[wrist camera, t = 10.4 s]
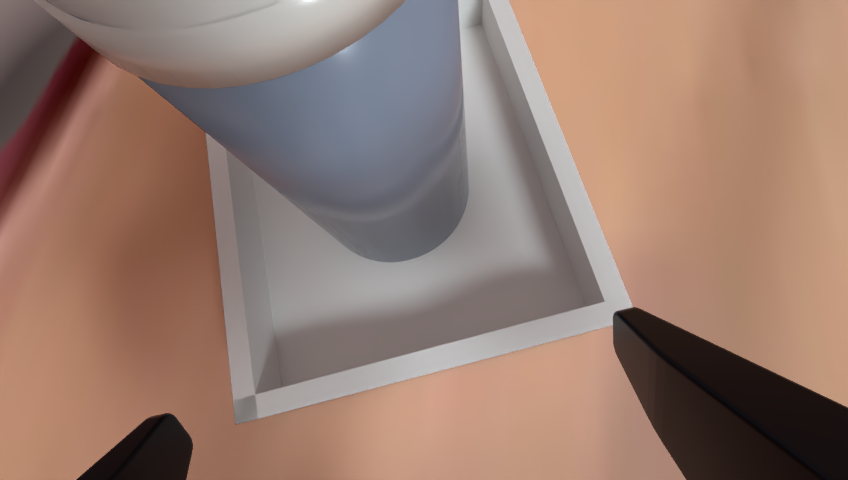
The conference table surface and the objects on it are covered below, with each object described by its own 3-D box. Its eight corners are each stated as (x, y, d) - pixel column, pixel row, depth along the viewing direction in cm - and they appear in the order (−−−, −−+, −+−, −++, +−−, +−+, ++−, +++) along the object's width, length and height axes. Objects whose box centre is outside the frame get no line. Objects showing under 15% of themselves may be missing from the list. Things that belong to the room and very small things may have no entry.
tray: (609, 326, 17) (637, 318, 14) (275, 414, 17) (235, 424, 14) (491, 19, 21) (495, -34, 18) (233, 94, 22) (197, 54, 19)
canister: (444, 284, 17) (350, 84, 4) (297, 240, 18) (-89, -6, 6) (489, 138, 18) (511, -314, 6) (350, 108, 20) (132, -313, 7)
